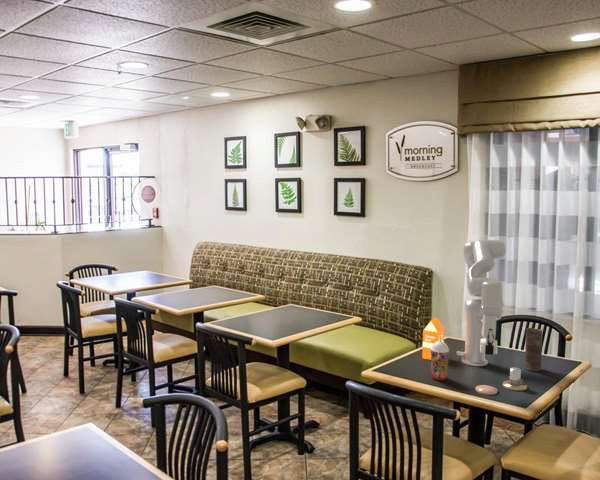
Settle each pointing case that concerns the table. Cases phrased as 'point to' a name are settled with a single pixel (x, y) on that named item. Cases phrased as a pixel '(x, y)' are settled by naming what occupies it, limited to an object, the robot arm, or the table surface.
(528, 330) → the candle
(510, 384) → the beige piece
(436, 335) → the orange juice
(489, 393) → the coaster
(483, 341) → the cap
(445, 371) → the smoothie
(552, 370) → the table surface
